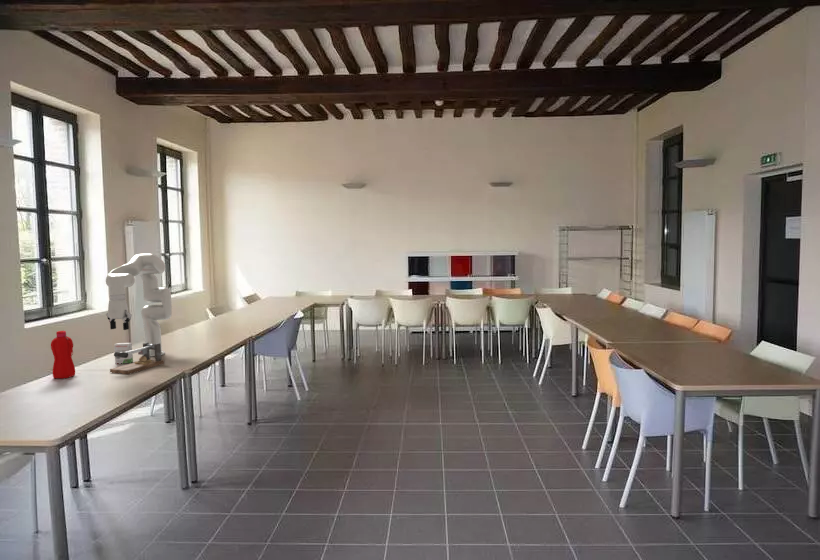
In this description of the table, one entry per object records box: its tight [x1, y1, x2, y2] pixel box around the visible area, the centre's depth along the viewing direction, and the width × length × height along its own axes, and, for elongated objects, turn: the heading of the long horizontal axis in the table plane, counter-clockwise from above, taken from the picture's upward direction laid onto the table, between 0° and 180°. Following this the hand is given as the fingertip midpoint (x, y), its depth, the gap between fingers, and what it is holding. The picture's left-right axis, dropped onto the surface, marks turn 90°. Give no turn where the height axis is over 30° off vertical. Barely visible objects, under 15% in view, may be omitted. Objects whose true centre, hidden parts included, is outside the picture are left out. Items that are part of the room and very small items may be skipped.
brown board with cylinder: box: [109, 342, 165, 375], centre depth 319 cm, size 13×26×12 cm, turn 160°
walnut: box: [138, 355, 147, 362], centre depth 323 cm, size 4×4×4 cm
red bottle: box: [50, 330, 76, 380], centre depth 301 cm, size 9×11×25 cm
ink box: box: [113, 342, 134, 365], centre depth 333 cm, size 8×5×12 cm, turn 91°
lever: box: [113, 344, 155, 358], centre depth 319 cm, size 25×7×4 cm, turn 160°
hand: (119, 329), depth 308 cm, fingers open, 8 cm apart
